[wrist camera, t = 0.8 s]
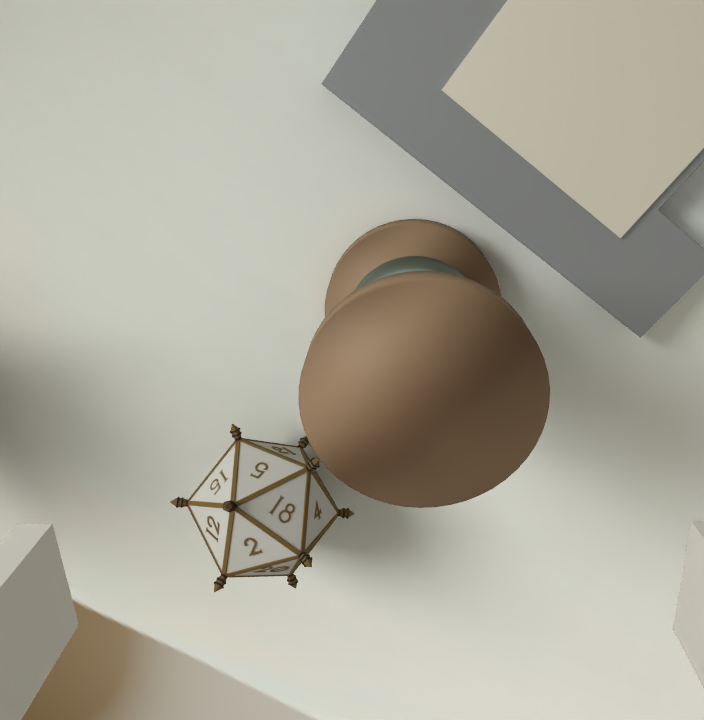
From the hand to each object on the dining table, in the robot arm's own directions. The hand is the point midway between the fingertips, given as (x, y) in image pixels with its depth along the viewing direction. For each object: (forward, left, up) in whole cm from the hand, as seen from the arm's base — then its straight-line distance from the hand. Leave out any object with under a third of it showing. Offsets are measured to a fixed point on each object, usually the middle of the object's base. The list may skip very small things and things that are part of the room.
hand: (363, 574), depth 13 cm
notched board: (+2, +14, -22) cm, 26 cm away
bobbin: (+2, 0, -22) cm, 22 cm away
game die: (+2, -13, -23) cm, 26 cm away
